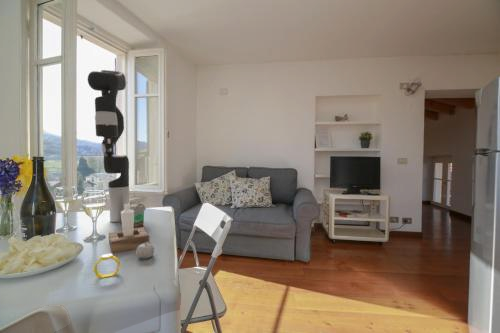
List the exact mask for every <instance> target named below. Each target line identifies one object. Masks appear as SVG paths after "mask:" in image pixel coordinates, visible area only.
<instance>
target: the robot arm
mask: <svg viewBox="0 0 500 333" xmlns="http://www.w3.org/2000/svg"><path fill="white" fill-rule="evenodd" d="M87 83H88V85H89V87H90V89H92V90H94V91H101V95H100V96H97V97H95V99H94V108H95V109H94V110H95V116H94V120H95V136H96V137H98V138H99V137H100V138H101V137H102V138H103V139H102V141H101V146H102V153H103V169H104V172H105V173H106V174H109V175H110V174H120V176H119V177H117V178H115V179H113V180H110V181H109V182H108V201H109V202H108V203H109V222H111V223H122V220H121V211H122V209H124V204H130V205H131V201H130V199H131V198H130V175H129V174H130V160H129V157H128V155H124V154H121V155H119V154H118V155H117V154H116V155H114V153H115V146H116V145H117V144H116V143H117V142H118V141H119V139H120V138H121V136H122V134H123V133H124V131H125V120H124V118H125V117H124V114H123V113H122V111H121V110H120V109H119V107H118V106H117V97H118V92H119V91H123V90H125V89H126V86H127V82H126V76H125V73H124V72H122V71H119V70H118V71H117V70H112V69H111V70H109V69H108V70H107V69H101V70H100V71H97V70H96V71H90V72H89V73H88V76H87Z"/></svg>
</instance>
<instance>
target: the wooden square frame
mask: <svg viewBox="0 0 500 333" xmlns="http://www.w3.org/2000/svg"><path fill="white" fill-rule="evenodd" d="M145 242H150V235H149V233H148V232H147V231H146V229H145V228H144V226H143V227H140V228H134V232H133V235H132V236H127V237H123V229H122V230H117V231H110V232H108V243H109V248H110V254H116V253H117V254H118V253H121V252H125V251H131V250H135V249H136V250H137V247H138V246H139V245H141V244H143V243H145Z"/></svg>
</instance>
